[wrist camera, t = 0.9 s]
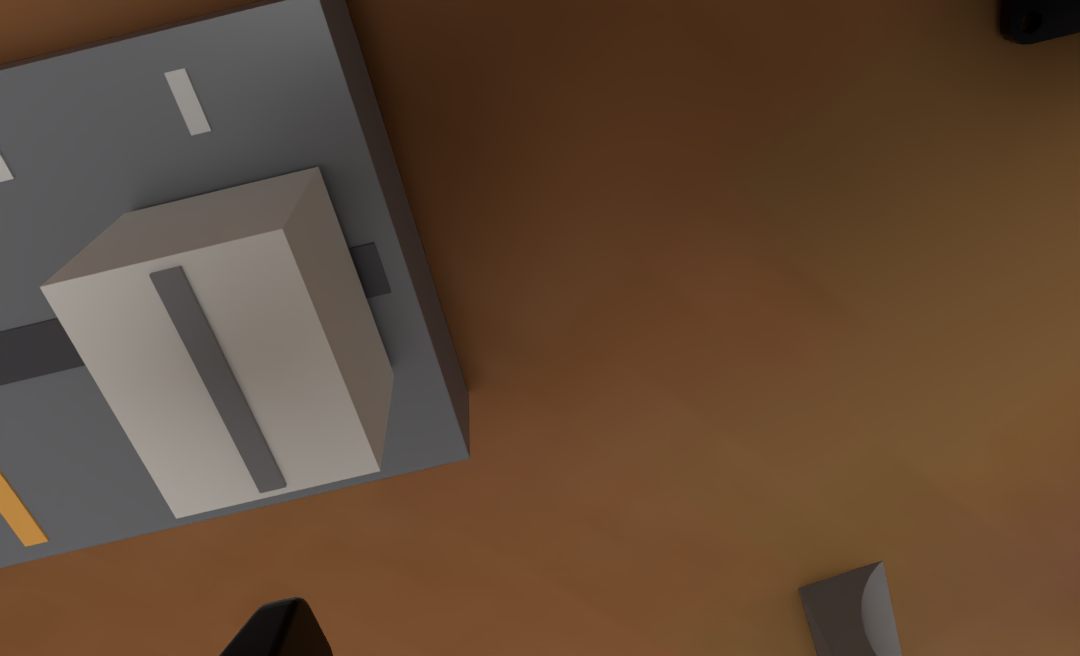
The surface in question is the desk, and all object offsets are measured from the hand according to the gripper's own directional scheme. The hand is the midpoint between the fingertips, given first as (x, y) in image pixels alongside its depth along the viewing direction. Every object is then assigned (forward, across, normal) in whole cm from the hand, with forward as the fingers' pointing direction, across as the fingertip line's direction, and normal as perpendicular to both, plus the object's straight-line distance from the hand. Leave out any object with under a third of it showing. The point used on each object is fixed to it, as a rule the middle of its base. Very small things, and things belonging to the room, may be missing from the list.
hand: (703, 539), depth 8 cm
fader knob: (+9, +7, 0) cm, 12 cm away
